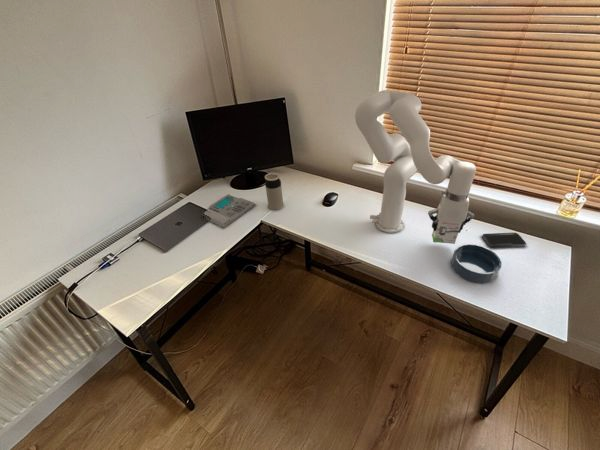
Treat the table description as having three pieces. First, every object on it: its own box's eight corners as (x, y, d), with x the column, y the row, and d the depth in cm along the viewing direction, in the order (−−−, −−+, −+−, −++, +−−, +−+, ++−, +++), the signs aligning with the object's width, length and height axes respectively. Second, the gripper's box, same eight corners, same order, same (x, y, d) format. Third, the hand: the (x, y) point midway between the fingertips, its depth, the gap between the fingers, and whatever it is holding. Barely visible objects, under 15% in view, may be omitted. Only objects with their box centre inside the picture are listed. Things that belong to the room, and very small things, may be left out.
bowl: (454, 281, 115) (458, 271, 111) (447, 252, 127) (450, 242, 124) (502, 286, 112) (507, 276, 108) (489, 255, 124) (494, 245, 121)
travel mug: (283, 210, 158) (279, 179, 146) (267, 210, 158) (263, 180, 147) (283, 201, 164) (280, 171, 153) (269, 202, 164) (264, 172, 153)
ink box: (433, 242, 127) (439, 220, 120) (431, 234, 131) (437, 212, 124) (455, 244, 125) (462, 221, 118) (452, 236, 129) (460, 214, 122)
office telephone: (223, 224, 147) (196, 212, 156) (224, 229, 148) (197, 216, 158) (255, 201, 161) (228, 190, 170) (255, 205, 163) (229, 194, 172)
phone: (481, 233, 133) (516, 232, 132) (481, 235, 133) (515, 234, 133) (490, 246, 127) (527, 244, 126) (489, 248, 127) (526, 246, 127)
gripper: (433, 198, 113) (425, 234, 124) (484, 201, 110) (471, 237, 120) (431, 188, 119) (422, 222, 129) (479, 190, 115) (466, 225, 126)
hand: (446, 229), depth 125 cm, fingers closed on ink box, 8 cm apart
